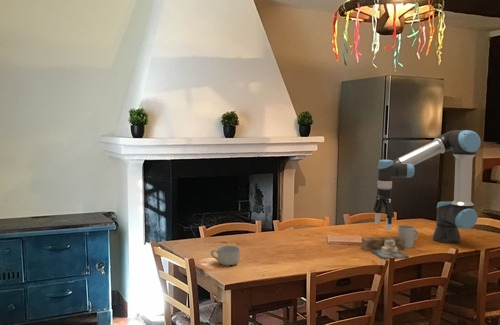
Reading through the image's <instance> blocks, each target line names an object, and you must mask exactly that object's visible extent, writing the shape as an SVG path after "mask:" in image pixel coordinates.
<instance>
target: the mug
mask: <svg viewBox="0 0 500 325" xmlns="http://www.w3.org/2000/svg"><path fill="white" fill-rule="evenodd" d="M397 237H401V238H403V239H405V243H404V249H412V248H414V246H415V245H414V244H415V241H417V240H418V237H419V233H418V230H417V229H416V228H415V227H414V226H412V225H406V224H405V225H404V224H402V225H398V229H397Z"/></svg>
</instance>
